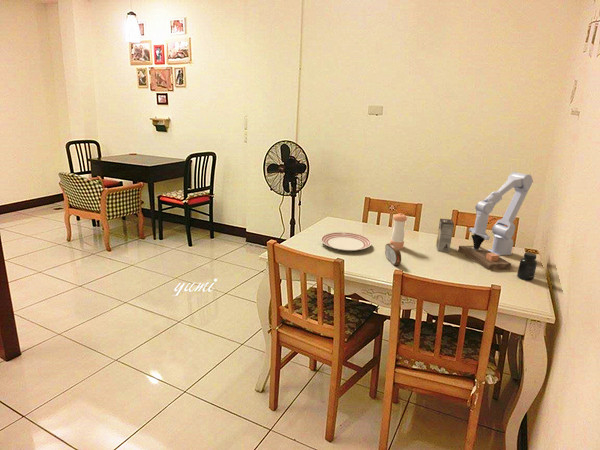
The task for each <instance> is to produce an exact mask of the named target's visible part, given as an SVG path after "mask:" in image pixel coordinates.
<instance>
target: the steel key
mask: <svg viewBox="0 0 600 450" xmlns="http://www.w3.org/2000/svg"><path fill="white" fill-rule="evenodd" d="M471 250H473V251H475V252H481V251H482V249H480V248H479V249H475V248H474V247H471Z"/></svg>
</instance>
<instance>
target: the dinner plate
mask: <svg viewBox="0 0 600 450" xmlns="http://www.w3.org/2000/svg"><path fill="white" fill-rule="evenodd" d="M320 241H321V243H322V244H323V245H325V246H327V247H329V248H331V249H335V250H339V251H343V252H355V251H356V252H357V251H362V250H365V249H368V248H369V247H370V246H371V245H372V240H371V239H369V238H368V237H367V236H364V235H362V234H359V233H353V232H346V231H344V232H343V231H339V232H338V231H337V232H334V231H333V232H329V233H326V234H324V235H323V236H321V237H320Z"/></svg>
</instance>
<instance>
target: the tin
mask: <svg viewBox="0 0 600 450" xmlns="http://www.w3.org/2000/svg"><path fill="white" fill-rule="evenodd" d="M384 249H385V251H384V254H385V257H386V259H387V260H388V261H389V262H390V263H391V265H393V266H400V265H401V263H402V253H401V249H398V248H397V247H396V246H395V245H394V244H393V243H390V242H389V243H386V244H385V248H384Z"/></svg>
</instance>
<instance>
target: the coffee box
mask: <svg viewBox="0 0 600 450" xmlns="http://www.w3.org/2000/svg"><path fill="white" fill-rule="evenodd" d="M454 227H455V223H454V221H453V219H450V218H439V225H438V229H437V230H438V231H437V237H436V242H435V243H436V244H435V246H436V250H437V251H439V252H444V253H445V252H446V253H450V250H451V244H452V238H453V233H454Z"/></svg>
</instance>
